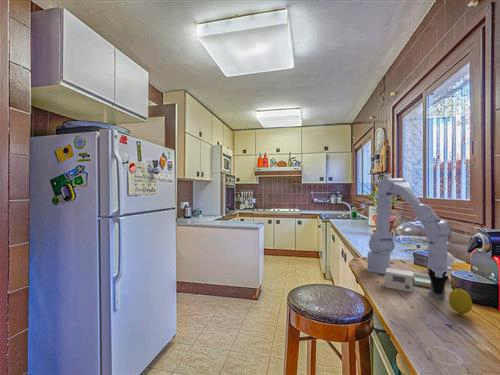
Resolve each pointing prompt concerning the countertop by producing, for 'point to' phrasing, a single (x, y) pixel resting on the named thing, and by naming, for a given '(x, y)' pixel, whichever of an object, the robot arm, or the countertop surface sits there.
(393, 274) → the control box
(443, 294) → the block
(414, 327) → the countertop surface
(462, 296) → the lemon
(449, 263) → the lightbulb
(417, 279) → the parts tray
